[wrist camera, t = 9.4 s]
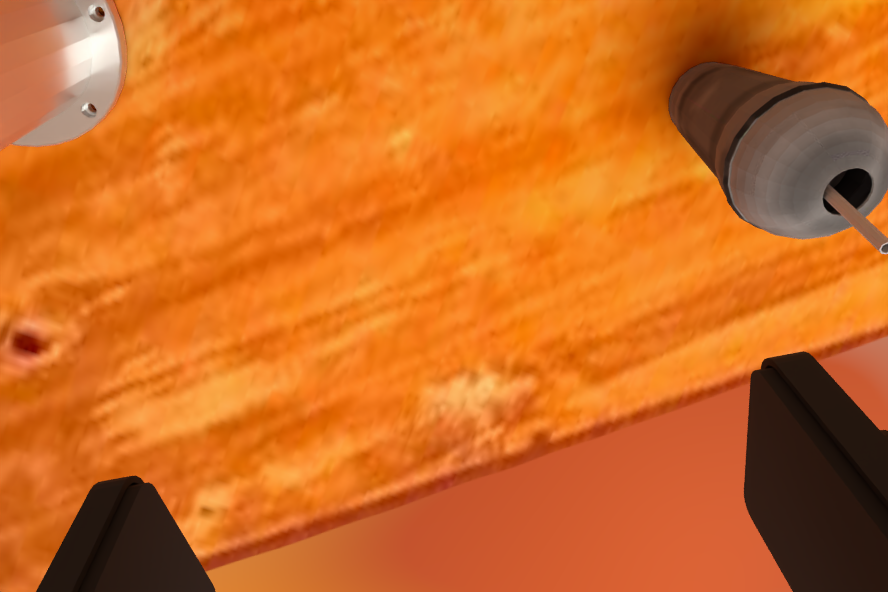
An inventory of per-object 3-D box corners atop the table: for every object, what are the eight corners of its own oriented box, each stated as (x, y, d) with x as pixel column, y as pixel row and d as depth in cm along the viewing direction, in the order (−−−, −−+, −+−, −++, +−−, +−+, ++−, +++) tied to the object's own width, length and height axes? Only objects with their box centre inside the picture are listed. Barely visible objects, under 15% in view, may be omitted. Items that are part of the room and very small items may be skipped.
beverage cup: (765, 137, 43) (1010, 294, 25) (653, 169, 43) (818, 344, 26) (761, 21, 39) (1043, 113, 22) (639, 59, 40) (819, 177, 22)
